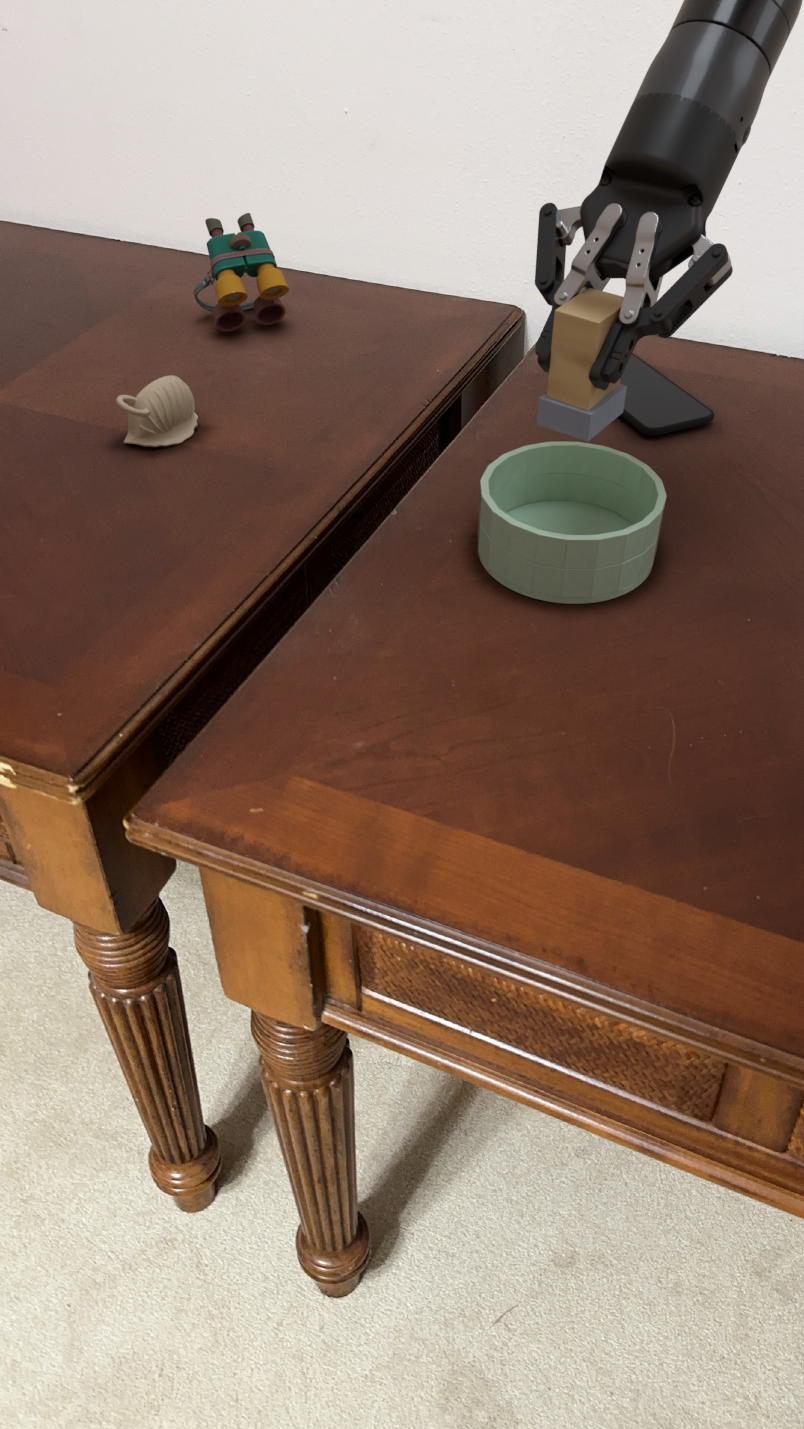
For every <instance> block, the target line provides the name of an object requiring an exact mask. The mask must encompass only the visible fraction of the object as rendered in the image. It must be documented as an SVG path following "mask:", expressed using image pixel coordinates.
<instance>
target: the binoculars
mask: <svg viewBox="0 0 804 1429" xmlns="http://www.w3.org/2000/svg"><path fill="white" fill-rule="evenodd" d="M253 220H254V219H253V217H252V214H251V213H250V212H246V213H244V214H242V215H240V216H239V218H237V224H238V228H239V230H240V231H239V232H237V233H234V232H231V233H226V234H224V232H225V230H224V227H223V224H222V221H221V220H220V219H218V218H214V217H209V218H206V219H205V221H204V222H205V225H206V229H207V231H208V234H209V236H210V237H211V238H209V239H208V241H207V242H206V248H207V252H208V256H209V261H210V263H209V264H210V270H209V271H207V273H206V274H205V276H204V278H203V279H202V280H200V281H201V282H200V283H198V284H197V285H196V286H195V287H194V289H193V296H194V299H195V301H196V303H197V304H198V305H199V307H201V308H202V309H204V310H206V311H208V312H212V313H213V318H214V323H215V328H216V329H217V330H219V331H220V332H223V333H224V332H225V333H226V332H227V333H228V332H229V333H230V332H232V331H236V330H238V329H240V328H241V327H243V326H244V324H245V322H246V320H247V316H246V314H245V312H244V311H247V310H251V309H253V312H254V317H255V321H256V322H257V323H258V324H260V325H262V326H270V325H275V324H276V323H278V322H279V321H281V320H283V318H284V317H285V315H286V307H285V306H284V304H283V302H282V301H281V299H280V298H282V297H283V296H286V294H288V293H289V291H290V288H289V285H288V283H287V281H286V278H285V276H284V273H283V271H282V270H281V269H279V268H277V267H278V263H277V262H276V256H275V254H274V252H273V250H272V249H271V247H270V245H269V242H268V240H267V237H266V234H265V233H264V232H263V231H261V230H255V223H254V221H253ZM245 274H246V275H247V276H248V277H250V278H256V280H255V281H256V286H257V290H258V293H259V294H258V295H259V296H257V297H256V299H254V300H253V301H249V302H246V303H243V302H245V301H247V299H248V297H249V295H248V293H247V291H246V290H247V289H245V285H244V283H243V281H242V277H244V275H245ZM215 281H216V282H215ZM214 283H215V284H214ZM213 285H214V292H215V295H216V299H217V303H216V304H215V305H211V304H207V303H206V302H203V301H202V300H201V299H200V298H199V297H198V295H199V293H200V292H201V291H202V290H204V289H206V288H207V287H209V286H213Z"/></svg>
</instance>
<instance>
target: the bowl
mask: <svg viewBox="0 0 804 1429" xmlns="http://www.w3.org/2000/svg"><path fill="white" fill-rule="evenodd" d="M478 495H479V496H478V515H477V533H476V534H477V535H476V537H477V539H476V540H477V545H476V546H477V548H476V549H477V556H478V558H479V561H480V563H481V565H482V566H483V568H484V569H485V571H486V572H487V573H488V574H489V576H490V577H492V578H493V579H494V580H495V581H496V582H498V583H499V584H500V585H501V586H504V587H506V588H507V589H509V590H510V591H513V592H515V593H517V594H520V595H521V596H525V597H529V598H531V599H534V600H539V601H542V602H548V603H555V604H566V605H583V604H595V603H600V602H606V601H609V600H612V599H616V598H619V597H621V596H624V595H626V594H628V593H630V592H632V591H634V590H635V589H636V588H638V587H639V586H641V585H642V584H643V582H645V580H647V579H648V577H649V575H650V574H651V572H652V569H653V567H654V563H655V558H656V555H657V550H658V545H659V540H660V534H661V530H662V525H663V524H662V523H663V518H664V513H665V507H666V503H667V497H668V495H667V492H666V489H665V486H664V483H663V480H662V478H660V476H659V475H658V474H657V473H656V472H655V471H654V470H653V469H652V468H651V467H650V465H647V464H646V463H645V462H644V461H641V460H640V459H638V458H636V457H634V456H633V455H631V454H630V453H626V452H623V451H621V450H617V449H615V448H612V447H609V446H606V445H602V444H595V443H589V442H583V441H544V442H537V443H532V444H526V445H523V446H521V447H518V448H517V447H516V448H515V449H512V450H510V451H507V452H505V453H502V454H501V455H500V456H499V457H497V458H496V459H494V460H493V461H492V462H491V463H489V464H488V465H487V466H486V469H485V470H484V472H483V474H482V475H481V478H480V481H479V494H478Z"/></svg>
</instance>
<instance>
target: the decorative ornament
mask: <svg viewBox="0 0 804 1429" xmlns="http://www.w3.org/2000/svg"><path fill="white" fill-rule="evenodd" d="M116 403H117V405H118V406H119V407H120V408H121V409H122V410H124V411H125V412H127V413H128V416H127V417H128V420H127V434H126V437H125V438H124V440H123V444H131V445H138V446H142V447H152V448H157V447H170V446H175V445H181V444H183V443H184V442H185V441H186V440H188V439H190V438H191V437H192V436H194V433H195V429H196V428H197V427H198V420H199V416H198V415H197V414H196V412H195V409H196V408H195V399H194V395H193V393H192V391H191V388H190V387H189V385H188V384H187V383H185V381H184V380H182V379H181V378H180V377H178V376H177V375H173V374H171V375H170V374H169V375H165V376H162V377H159V378H156V379H155V380H153V381H152V382H150V383H149V384H147V385H145V386H144V387H143V389H141V390H140V391H139V392H138V394H137V395H136V396H133V395H128V394H120V395H118V396H117V397H116ZM127 403H129V404H131V405H128V404H127Z"/></svg>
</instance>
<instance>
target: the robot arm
mask: <svg viewBox="0 0 804 1429" xmlns="http://www.w3.org/2000/svg"><path fill="white" fill-rule="evenodd" d="M802 4H803V0H683V1H682V4H681V5H680V8H679V10H678V12H677V14H676V17H675V19H674V21H673V23H672V25H671V27H670V30H669V32H668V34H667V37H666V39H665V40H664V42H663V44H662V45H661V47H660V48H659V50H658V51H657V53H656V55H655V57H653V60H652V62H651V63H650V66H649V67H648V69H647V71H646V73H645V75H644V77H643V80H642V82H641V84H640V86H639V88H638V90H637V93H636V95H635V97H634V99H633V100H632V104H631V106H630V108H629V110H628V112H627V114H626V117H625V118H624V121H623V123H622V125H621V128H620V130H619V132H618V134H617V136H616V139H615V141H614V143H613V145H612V147H611V149H610V152H609V153H608V157H607V158H606V161H605V163H604V165H603V169H602V172H601V176H600V178H599V182H598V184H597V185H596V186H595V188H594V189H593V190H592V191H591V192H590V193H589V194H588V195H587V196H586V197H585V198H584V199H583V201H582V202H581V205H579V206H573V207H568V208H567V207H566V208H562V209H561V208H560V209H558V206H556V204H555V203H553V202H547V203H544V204H543V205H542V206H541V207H540V209H539V212H538V224H537V225H538V226H537V243H536V256H535V273H534V285H535V288H536V289H537V291H539V293H540V295H541V296H542V298H543V299H544V301H545V302H546V305H549V306H551V311H550V313H549V315H548V316H547V319H546V321H545V323H544V326H543V328H542V331H541V332H540V334H539V337H538V339H537V341H536V343H535V349H534V350H535V351H534V353H535V354H536V356H537V364H538V366H539V367H540V368H541V369H542V371H543V372H545V373H548V374H549V367H550V357H551V345H552V334H553V324H554V313H555V310H556V309H557V308H559V307H560V306H562V305H563V304H565V303H566V302H568V301H569V300H571V299H572V298H574V297H575V296H577V295H578V294H580V293H581V292H583V291H584V290H586V289H587V288H593V289H597V290H600V291H604V290H605V288H606V286H607V285H608V283H609V282H610V280H611V279H624V280H625V291H624V295H623V297H624V298H623V302H622V306H621V309H620V313H619V321H618V323H617V324H616V323H612V325H611V328H610V330H609V332H608V334H607V336H606V338H605V341H604V343H603V345H602V347H601V349H600V351H599V354H598V356H597V358H596V360H595V362H594V363H593V365H592V367H591V369H590V372H589V380H590V382H591V383H592V384H593V385H594V387H595V388H598V389H601V390H606V389H607V388H608V386H609V384H610V383H613V384H615V383H616V382H617V381H618V380H619V379H620V378H621V376H622V374H623V372H624V369H625V367H626V365H627V363H628V361H629V359H630V357H631V355H632V353H633V352H634V350H635V349H636V346H637V344H638V342H639V341H640V340H641V339H643V338H645V337H647V336H658V337H660V338H662V339H667V338H670V337H672V336H673V335H674V334H675V333H676V332H677V331H678V330H679V329H680V328H681V327H682V326H683V325H684V324H685V323H686V322H687V321H688V320H689V319H690V318H691V317H692V316H693V314H695V313H696V312H697V311H698V309H700V308H701V307H702V306H703V305H704V303H706V302H707V301H708V300H709V298H710V297H712V296H713V294H715V293H716V291H717V290H719V289H720V287H722V286H723V285H724V283H726V281H728V280H729V278H730V277H731V276H732V274H733V271H734V270H733V265H732V260H731V257H730V254H729V251H728V249H727V247H726V246H725V244H723V243H720V242H718V243H713V242H712V241H711V240H710V239H709V238H707V228H706V227H707V226H706V225H707V220H708V219H709V216H710V215H711V213H712V212H713V210H714V208H715V205H716V203H717V201H718V199H719V197H720V194H721V193H722V190H723V188H724V186H725V184H726V181H727V180H728V178H729V175H730V174H731V171H732V169H733V167H734V165H735V162H736V160H737V158H738V156H739V154H740V152H741V149H742V147H743V146H744V145H745V144H746V142H747V141H748V139H749V136H750V134H751V131H752V126H753V124H754V122H755V120H756V117H757V114H758V112H759V109H760V107H761V103H762V99H763V96H764V93H765V90H766V87H767V85H768V82H769V80H770V77H771V76H772V74H773V71H774V70H775V67H776V64H777V63H778V61H779V58H780V56H781V55H782V53H783V50H784V48H785V46H786V43H787V41H788V39H789V38H790V34H791V32H792V31H793V29H794V27H795V25H796V22H797V20H798V18H799V15H800V11H801V8H802ZM580 228H581V229H582V233H583V237H584V238H583V239H584V243H583V244H582V246H581V248H579V250H578V252H577V253H576V254H575V256H574V258H573V259H572V261H571V265H570V266H571V267H570V270H569V272H568V274H567V275H566V277H565V272H566V271H565V270H566V256H567V255H566V254H567V247H569V246H572V244H573V241H574V239H575V236H576V233H577V231H578V230H579V229H580ZM688 259H689V261H688V263H687V267H688V269H687V270H686V271H685V272H684V273H683V274H682V275H681V276H680V277H679V278H678V279H677V280H676V281H675V282H674V283H673V284H672V285H671V286H670V287H669V288H668V289H667V290H666V291H665V292H664V293H663V294H662V296H660V298H659V294H660V291H661V286H662V283H663V279H664V276H665V275H666V274H668V273H669V272H671V271H672V270H673V269H675V268H677V267H678V266H679V265H681V264H682V263H684V262H685V261H687V260H688Z"/></svg>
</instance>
